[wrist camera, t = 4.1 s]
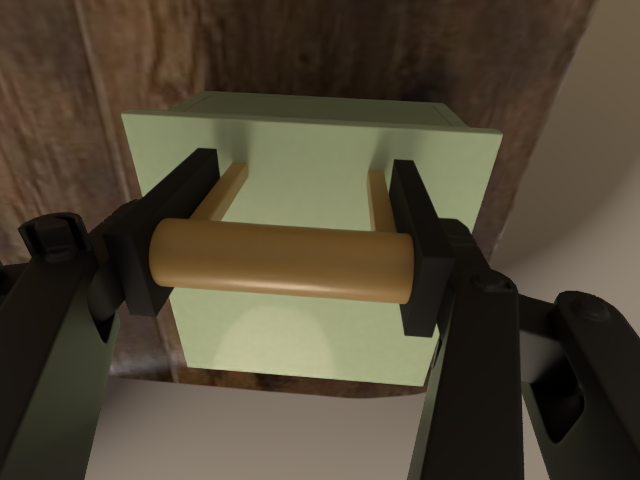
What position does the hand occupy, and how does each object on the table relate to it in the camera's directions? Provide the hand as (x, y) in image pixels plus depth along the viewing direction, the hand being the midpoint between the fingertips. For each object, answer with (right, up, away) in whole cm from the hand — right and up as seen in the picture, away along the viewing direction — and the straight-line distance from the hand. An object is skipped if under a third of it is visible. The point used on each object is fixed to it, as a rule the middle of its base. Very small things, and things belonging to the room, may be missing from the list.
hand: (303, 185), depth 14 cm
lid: (0, -4, +5) cm, 6 cm away
